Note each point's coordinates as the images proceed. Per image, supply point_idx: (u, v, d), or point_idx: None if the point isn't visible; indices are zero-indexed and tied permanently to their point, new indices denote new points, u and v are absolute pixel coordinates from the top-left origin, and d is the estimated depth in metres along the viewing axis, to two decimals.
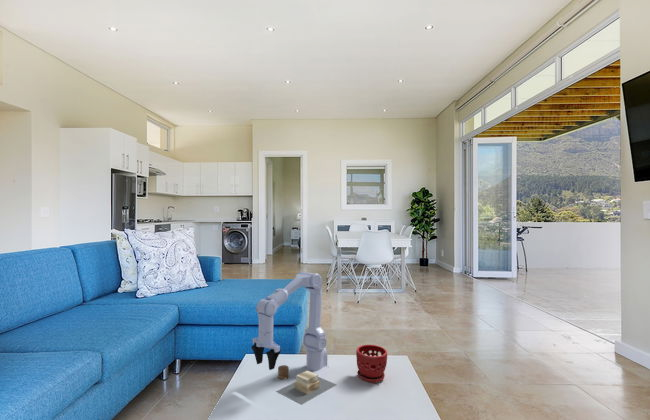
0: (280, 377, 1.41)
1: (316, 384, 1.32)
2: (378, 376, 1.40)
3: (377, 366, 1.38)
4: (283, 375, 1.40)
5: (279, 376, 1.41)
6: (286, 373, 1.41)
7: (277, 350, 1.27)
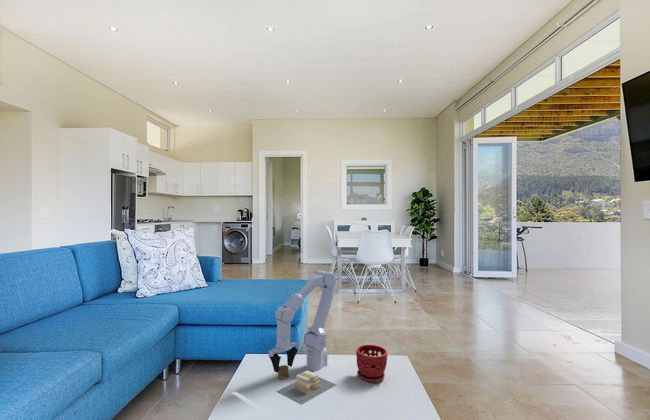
0: (280, 377, 1.41)
1: (316, 384, 1.32)
2: (378, 376, 1.40)
3: (377, 366, 1.38)
4: (283, 375, 1.40)
5: (279, 376, 1.41)
6: (286, 373, 1.41)
7: (269, 354, 1.38)
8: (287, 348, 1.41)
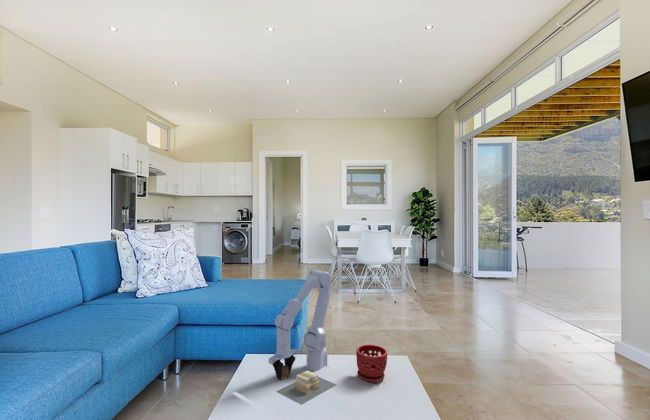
0: None
1: (316, 384, 1.32)
2: (378, 376, 1.40)
3: (377, 366, 1.38)
4: (283, 374, 1.40)
5: None
6: (286, 373, 1.41)
7: (269, 362, 1.37)
8: (287, 355, 1.41)
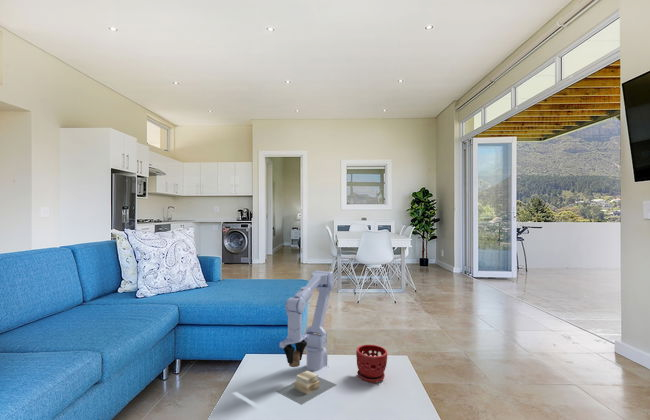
0: None
1: (316, 384, 1.32)
2: (378, 376, 1.40)
3: (377, 366, 1.38)
4: (294, 359, 1.36)
5: None
6: (297, 358, 1.37)
7: (280, 346, 1.33)
8: (298, 340, 1.36)
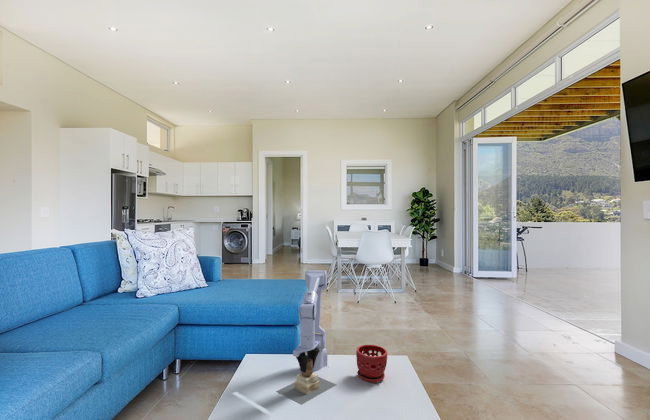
0: None
1: (316, 384, 1.32)
2: (378, 376, 1.40)
3: (377, 366, 1.38)
4: (308, 368, 1.31)
5: None
6: (310, 366, 1.32)
7: (294, 354, 1.28)
8: (312, 347, 1.32)
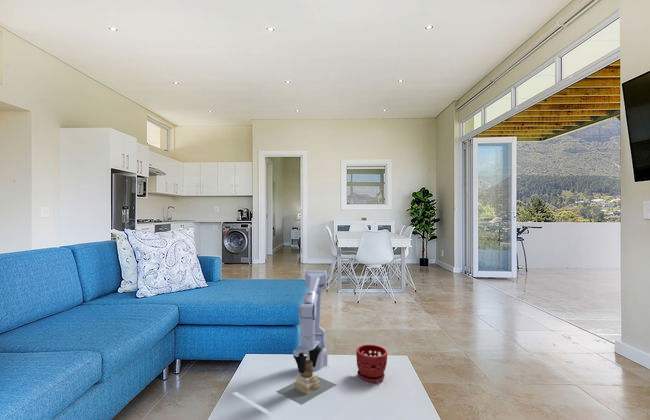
0: (304, 372, 1.31)
1: (316, 384, 1.32)
2: (378, 376, 1.40)
3: (377, 366, 1.38)
4: (308, 370, 1.31)
5: None
6: (310, 368, 1.32)
7: (294, 354, 1.28)
8: (312, 347, 1.32)
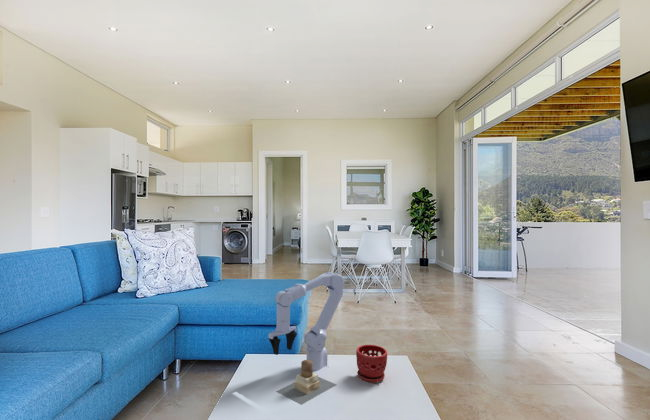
0: (304, 372, 1.31)
1: (316, 384, 1.32)
2: (378, 376, 1.40)
3: (377, 366, 1.38)
4: (308, 370, 1.31)
5: (303, 371, 1.32)
6: (310, 368, 1.32)
7: (269, 337, 1.41)
8: (286, 331, 1.44)
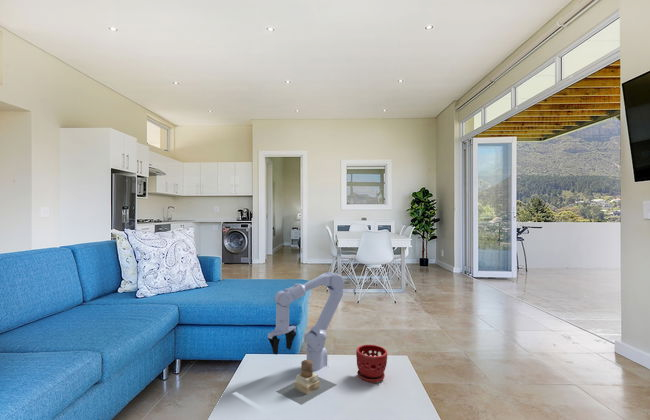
0: (304, 372, 1.31)
1: (316, 384, 1.32)
2: (378, 376, 1.40)
3: (377, 366, 1.38)
4: (308, 370, 1.31)
5: (303, 371, 1.32)
6: (310, 368, 1.32)
7: (268, 336, 1.41)
8: (286, 331, 1.44)
